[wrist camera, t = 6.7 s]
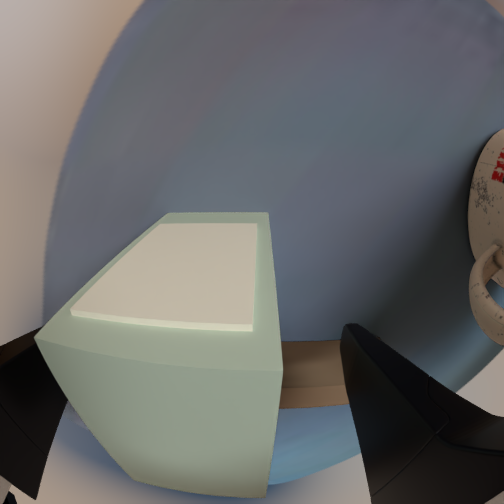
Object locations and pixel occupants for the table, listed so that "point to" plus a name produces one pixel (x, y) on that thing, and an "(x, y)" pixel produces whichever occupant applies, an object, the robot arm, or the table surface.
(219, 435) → the sage tin
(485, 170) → the teacup with lid
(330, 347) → the wooden block
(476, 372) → the table surface
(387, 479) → the robot arm
